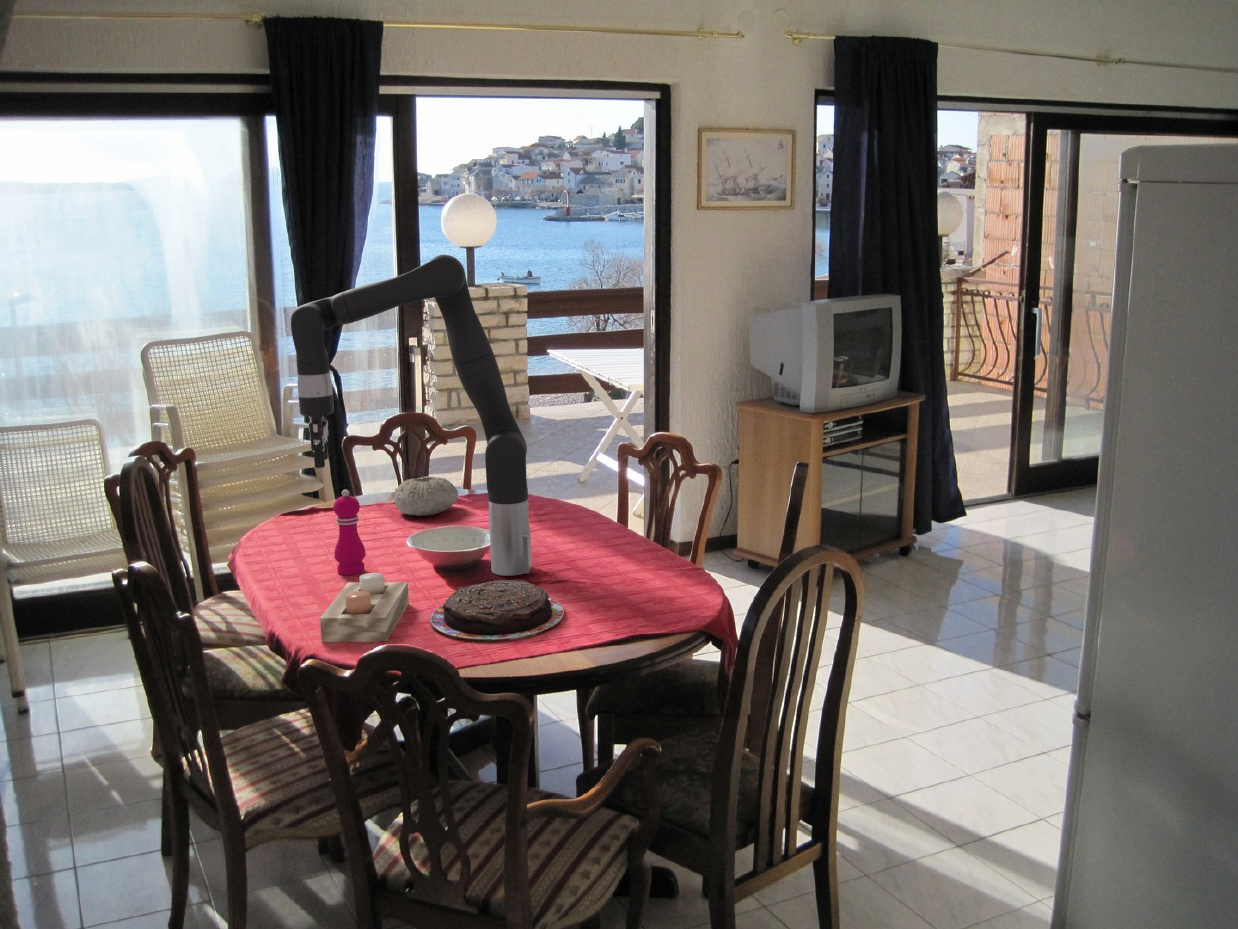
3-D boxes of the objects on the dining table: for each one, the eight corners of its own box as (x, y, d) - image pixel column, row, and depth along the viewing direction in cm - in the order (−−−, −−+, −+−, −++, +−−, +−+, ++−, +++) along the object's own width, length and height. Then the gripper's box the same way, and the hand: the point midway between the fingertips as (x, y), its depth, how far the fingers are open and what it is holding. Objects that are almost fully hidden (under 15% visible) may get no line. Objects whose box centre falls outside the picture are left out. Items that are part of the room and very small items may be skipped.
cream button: (386, 587, 251) (385, 572, 250) (381, 595, 246) (380, 580, 245) (363, 587, 251) (362, 572, 250) (357, 595, 246) (356, 580, 245)
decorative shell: (397, 506, 336) (395, 472, 334) (459, 503, 338) (458, 469, 336) (392, 522, 319) (390, 487, 316) (458, 519, 321) (456, 484, 318)
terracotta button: (373, 607, 239) (372, 591, 238) (367, 615, 234) (366, 599, 233) (349, 607, 239) (348, 591, 238) (343, 615, 234) (342, 599, 233)
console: (409, 604, 254) (407, 582, 253) (386, 641, 232) (384, 617, 231) (349, 604, 254) (348, 582, 253) (321, 642, 233) (319, 618, 232)
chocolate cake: (450, 654, 227) (449, 622, 225) (415, 609, 252) (413, 580, 250) (584, 631, 237) (584, 600, 236) (538, 590, 262) (537, 562, 261)
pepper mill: (359, 577, 273) (353, 494, 268) (330, 575, 274) (324, 493, 270) (371, 567, 280) (366, 486, 275) (343, 566, 281) (337, 485, 277)
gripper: (330, 397, 257) (336, 469, 260) (334, 387, 270) (340, 455, 274) (295, 399, 256) (301, 471, 259) (301, 389, 269) (307, 457, 273)
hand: (321, 463), depth 267 cm, fingers open, 8 cm apart
